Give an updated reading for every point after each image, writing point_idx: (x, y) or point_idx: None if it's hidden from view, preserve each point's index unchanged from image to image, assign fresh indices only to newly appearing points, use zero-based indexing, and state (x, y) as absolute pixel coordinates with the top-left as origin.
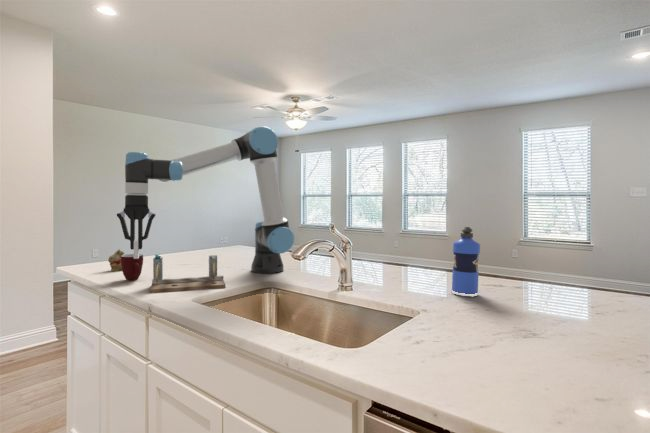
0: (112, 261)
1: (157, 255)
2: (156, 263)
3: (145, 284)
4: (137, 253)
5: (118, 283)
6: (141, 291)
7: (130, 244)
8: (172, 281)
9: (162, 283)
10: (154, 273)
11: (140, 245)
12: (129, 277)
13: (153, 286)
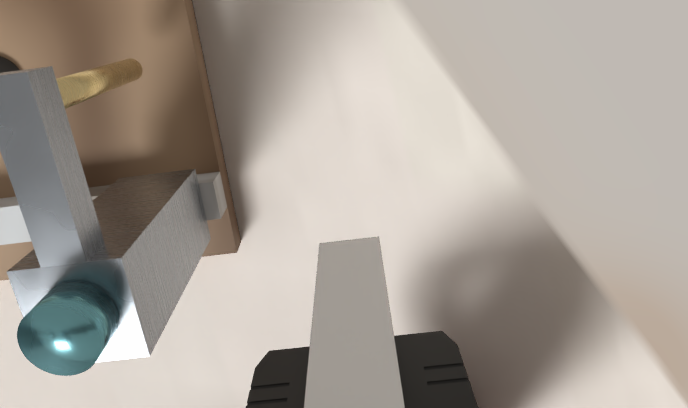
0: None
1: (51, 303)
2: (26, 70)
3: (307, 270)
4: (325, 277)
5: (517, 330)
6: (273, 31)
7: (471, 392)
8: None
9: None
10: (167, 189)
11: (275, 400)
12: None
13: (180, 77)
